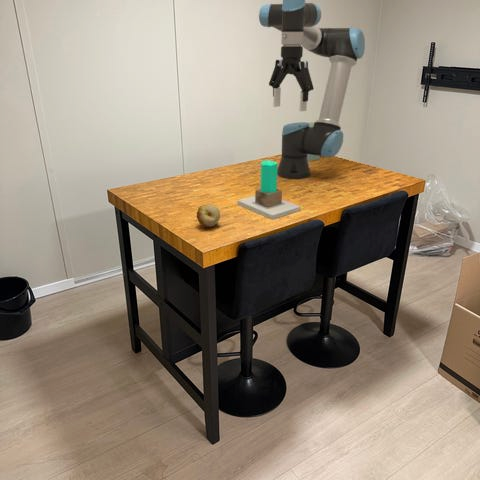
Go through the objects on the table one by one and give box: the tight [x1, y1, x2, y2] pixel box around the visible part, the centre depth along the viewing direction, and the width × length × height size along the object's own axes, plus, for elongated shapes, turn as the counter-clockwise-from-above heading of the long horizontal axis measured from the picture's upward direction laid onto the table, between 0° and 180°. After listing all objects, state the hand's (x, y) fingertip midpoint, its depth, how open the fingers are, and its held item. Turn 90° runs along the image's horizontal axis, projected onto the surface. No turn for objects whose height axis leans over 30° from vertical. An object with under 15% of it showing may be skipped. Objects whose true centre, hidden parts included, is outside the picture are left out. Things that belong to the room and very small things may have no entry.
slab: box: [236, 195, 302, 220], centre depth 174 cm, size 20×14×2 cm
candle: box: [260, 158, 279, 193], centre depth 169 cm, size 6×6×12 cm
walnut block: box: [254, 188, 283, 208], centre depth 172 cm, size 7×7×5 cm
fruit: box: [196, 203, 221, 228], centre depth 156 cm, size 8×8×8 cm
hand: (289, 108), depth 169 cm, fingers open, 13 cm apart
